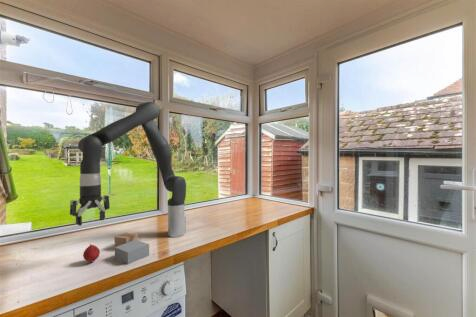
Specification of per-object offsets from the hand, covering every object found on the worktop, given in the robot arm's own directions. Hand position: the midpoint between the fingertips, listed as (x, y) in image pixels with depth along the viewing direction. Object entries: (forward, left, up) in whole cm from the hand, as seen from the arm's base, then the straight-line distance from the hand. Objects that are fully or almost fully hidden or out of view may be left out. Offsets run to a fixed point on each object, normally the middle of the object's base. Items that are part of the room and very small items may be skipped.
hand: (91, 222), depth 94 cm
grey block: (-12, +10, -17) cm, 23 cm away
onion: (0, 0, -17) cm, 17 cm away
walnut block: (-17, -3, -17) cm, 24 cm away
